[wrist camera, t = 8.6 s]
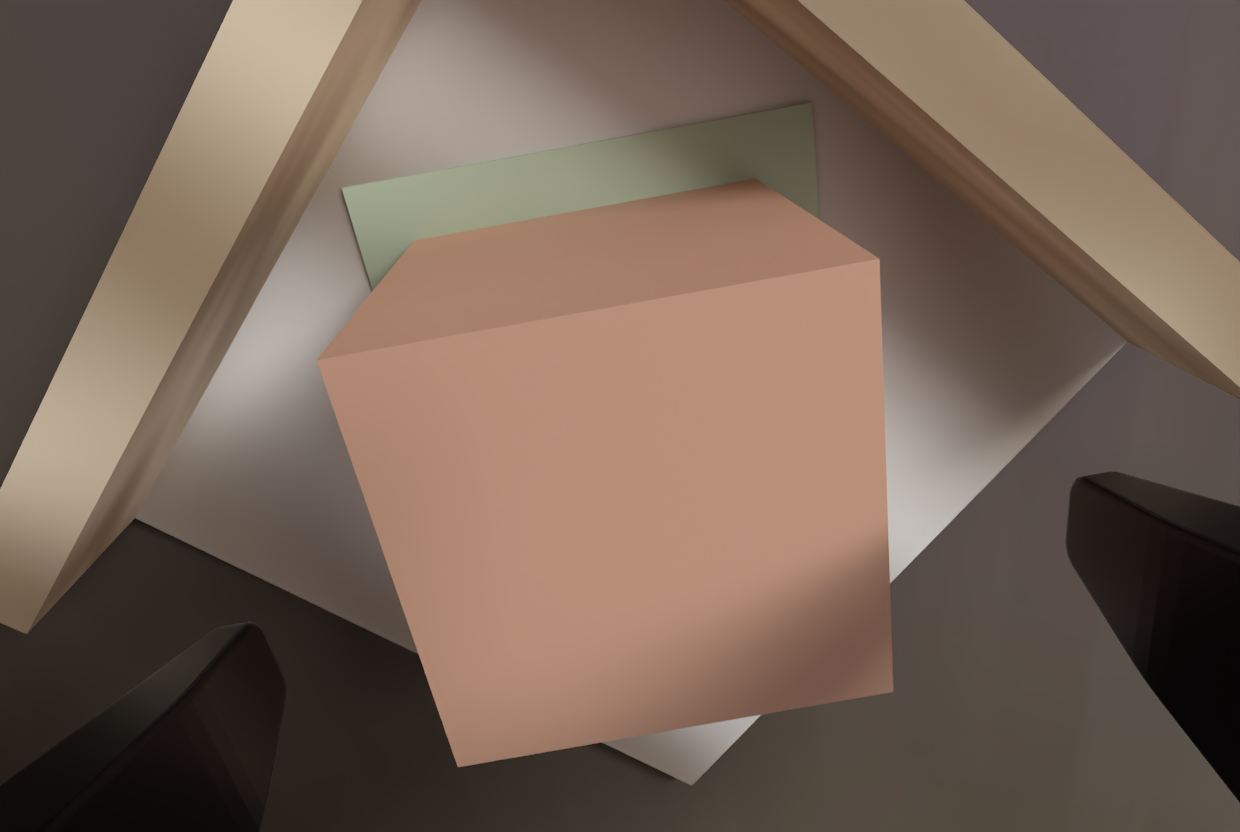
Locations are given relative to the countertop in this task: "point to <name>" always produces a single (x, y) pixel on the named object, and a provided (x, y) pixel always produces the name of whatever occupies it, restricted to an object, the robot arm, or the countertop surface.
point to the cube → (627, 466)
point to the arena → (571, 181)
